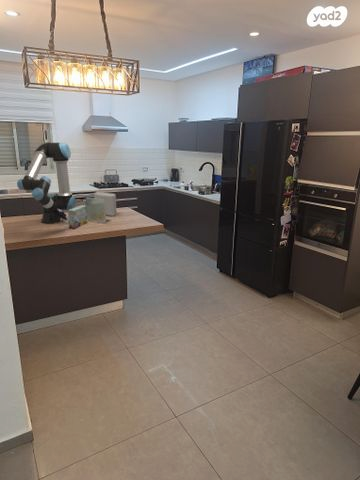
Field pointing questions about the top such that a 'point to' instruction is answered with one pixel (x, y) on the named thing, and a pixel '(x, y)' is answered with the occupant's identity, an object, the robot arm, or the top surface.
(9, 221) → the top surface
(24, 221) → the top surface
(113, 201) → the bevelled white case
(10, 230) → the top surface
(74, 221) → the snack box
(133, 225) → the top surface
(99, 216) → the frosted plastic container
